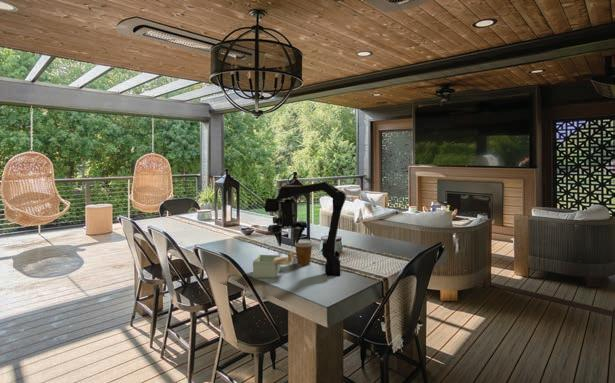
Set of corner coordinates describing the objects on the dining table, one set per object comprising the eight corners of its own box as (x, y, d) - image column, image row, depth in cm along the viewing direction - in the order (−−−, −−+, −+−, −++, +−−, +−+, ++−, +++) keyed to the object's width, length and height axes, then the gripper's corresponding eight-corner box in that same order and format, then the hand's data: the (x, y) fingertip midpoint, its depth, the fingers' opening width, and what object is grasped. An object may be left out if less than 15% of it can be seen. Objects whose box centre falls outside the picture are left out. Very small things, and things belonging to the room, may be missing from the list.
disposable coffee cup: (316, 263, 192) (316, 240, 191) (303, 268, 185) (303, 244, 184) (303, 260, 199) (303, 238, 197) (290, 264, 192) (290, 241, 190)
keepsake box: (279, 270, 181) (279, 255, 180) (274, 278, 169) (274, 262, 169) (259, 269, 182) (259, 254, 182) (253, 277, 171) (253, 261, 170)
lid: (293, 259, 179) (293, 250, 178) (290, 264, 169) (290, 255, 169) (275, 258, 180) (275, 249, 179) (271, 264, 170) (270, 255, 170)
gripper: (295, 208, 189) (296, 238, 191) (262, 212, 179) (263, 244, 181) (307, 210, 180) (308, 242, 181) (272, 215, 170) (273, 248, 171)
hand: (288, 244), depth 179 cm, fingers open, 9 cm apart
